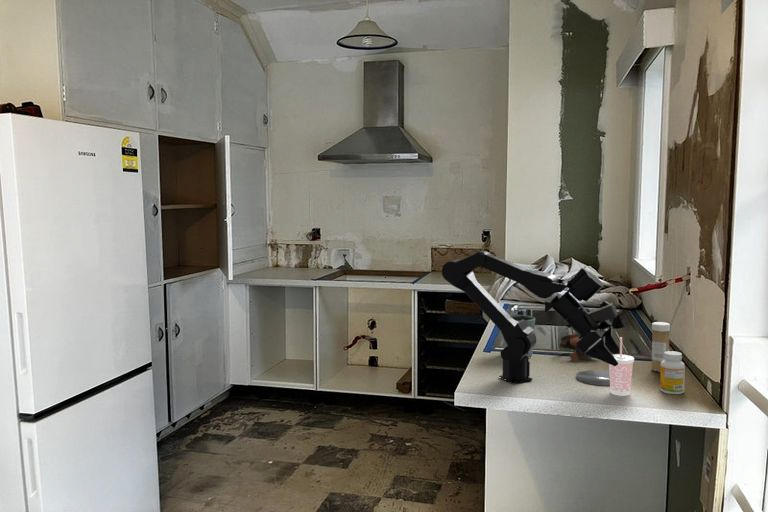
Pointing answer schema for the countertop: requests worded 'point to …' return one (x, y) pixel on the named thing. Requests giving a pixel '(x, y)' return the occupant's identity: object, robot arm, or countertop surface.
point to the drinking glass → (530, 322)
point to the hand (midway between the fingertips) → (619, 360)
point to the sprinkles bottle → (659, 343)
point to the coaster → (594, 377)
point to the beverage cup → (621, 374)
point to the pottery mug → (573, 347)
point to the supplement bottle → (672, 373)
